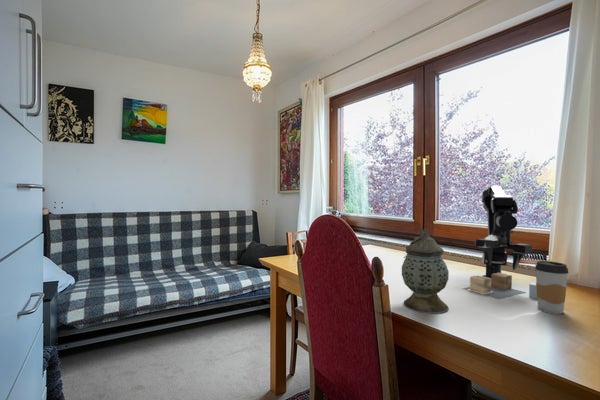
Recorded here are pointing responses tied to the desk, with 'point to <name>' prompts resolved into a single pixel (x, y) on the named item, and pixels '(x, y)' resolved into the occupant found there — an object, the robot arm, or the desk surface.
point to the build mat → (498, 292)
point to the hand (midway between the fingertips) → (501, 267)
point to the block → (532, 290)
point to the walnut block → (501, 281)
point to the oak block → (480, 284)
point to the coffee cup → (551, 286)
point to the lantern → (425, 275)
